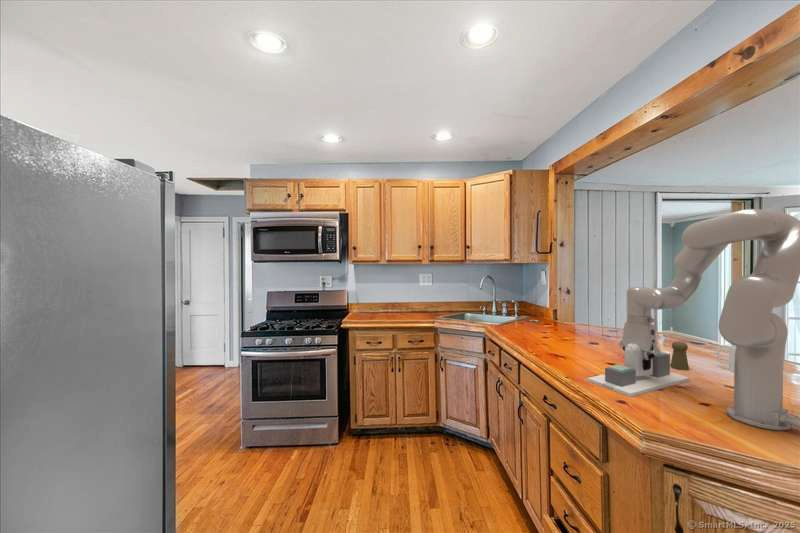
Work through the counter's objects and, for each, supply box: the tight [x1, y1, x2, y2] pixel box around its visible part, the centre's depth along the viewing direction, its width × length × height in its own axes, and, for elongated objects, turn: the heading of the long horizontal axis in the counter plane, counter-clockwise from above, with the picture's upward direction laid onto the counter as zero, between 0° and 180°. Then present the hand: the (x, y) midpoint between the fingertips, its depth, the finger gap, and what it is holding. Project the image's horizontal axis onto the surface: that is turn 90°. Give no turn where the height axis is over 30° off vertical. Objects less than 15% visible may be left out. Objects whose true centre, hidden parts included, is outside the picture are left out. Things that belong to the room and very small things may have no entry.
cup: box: [716, 344, 736, 374], centre depth 135 cm, size 8×12×10 cm
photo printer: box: [624, 343, 653, 376], centre depth 126 cm, size 10×4×12 cm, turn 103°
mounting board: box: [586, 351, 690, 398], centre depth 126 cm, size 16×35×10 cm, turn 113°
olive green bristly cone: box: [670, 341, 689, 371], centre depth 140 cm, size 6×6×11 cm
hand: (638, 366), depth 126 cm, fingers closed on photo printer, 4 cm apart
